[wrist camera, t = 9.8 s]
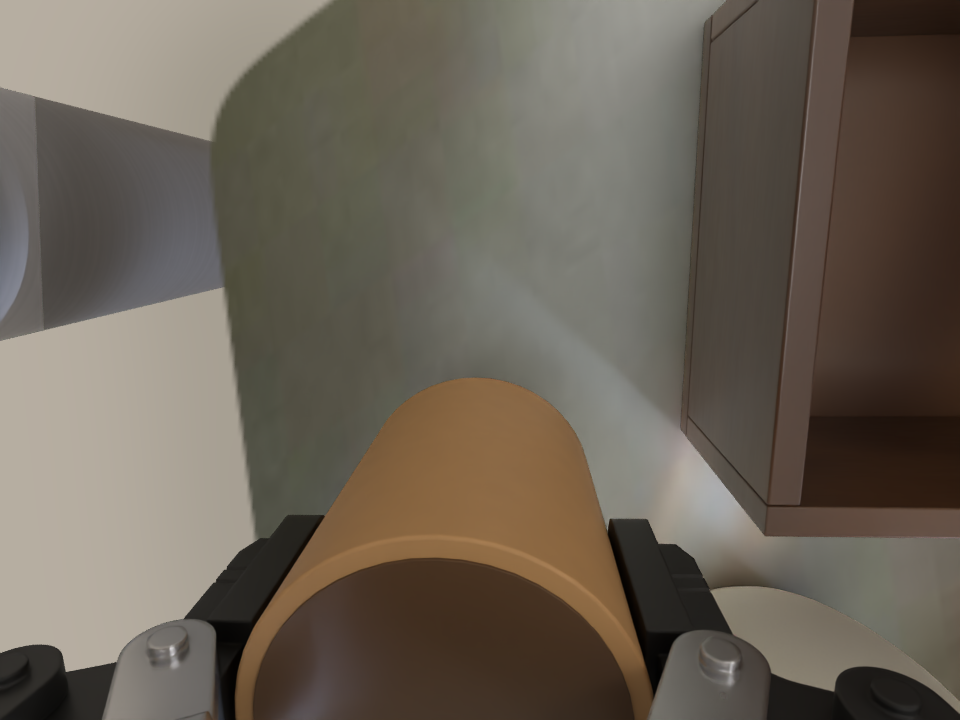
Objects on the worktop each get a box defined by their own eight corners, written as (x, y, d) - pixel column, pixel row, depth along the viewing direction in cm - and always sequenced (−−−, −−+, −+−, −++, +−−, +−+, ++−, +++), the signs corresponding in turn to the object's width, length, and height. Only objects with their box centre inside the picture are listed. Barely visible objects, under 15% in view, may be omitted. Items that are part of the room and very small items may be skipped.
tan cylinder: (377, 362, 16) (237, 508, 8) (606, 393, 15) (698, 573, 8) (359, 567, 17) (224, 867, 9) (570, 597, 17) (617, 928, 9)
